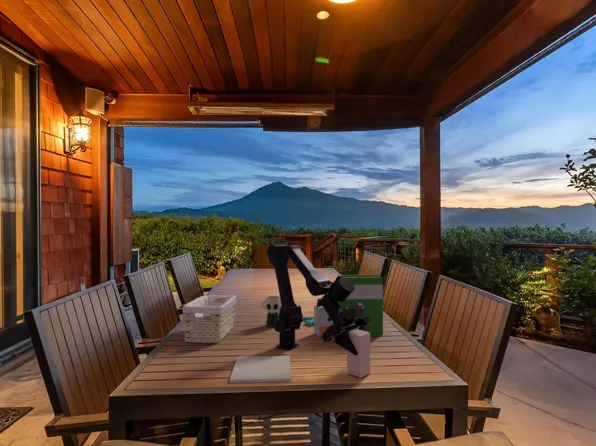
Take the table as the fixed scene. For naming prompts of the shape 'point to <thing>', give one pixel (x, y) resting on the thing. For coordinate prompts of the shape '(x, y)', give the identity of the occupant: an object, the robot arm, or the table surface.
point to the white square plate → (261, 369)
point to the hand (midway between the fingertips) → (362, 352)
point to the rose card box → (359, 353)
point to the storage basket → (209, 318)
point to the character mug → (272, 309)
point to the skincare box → (320, 320)
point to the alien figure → (310, 321)
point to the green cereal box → (368, 300)
